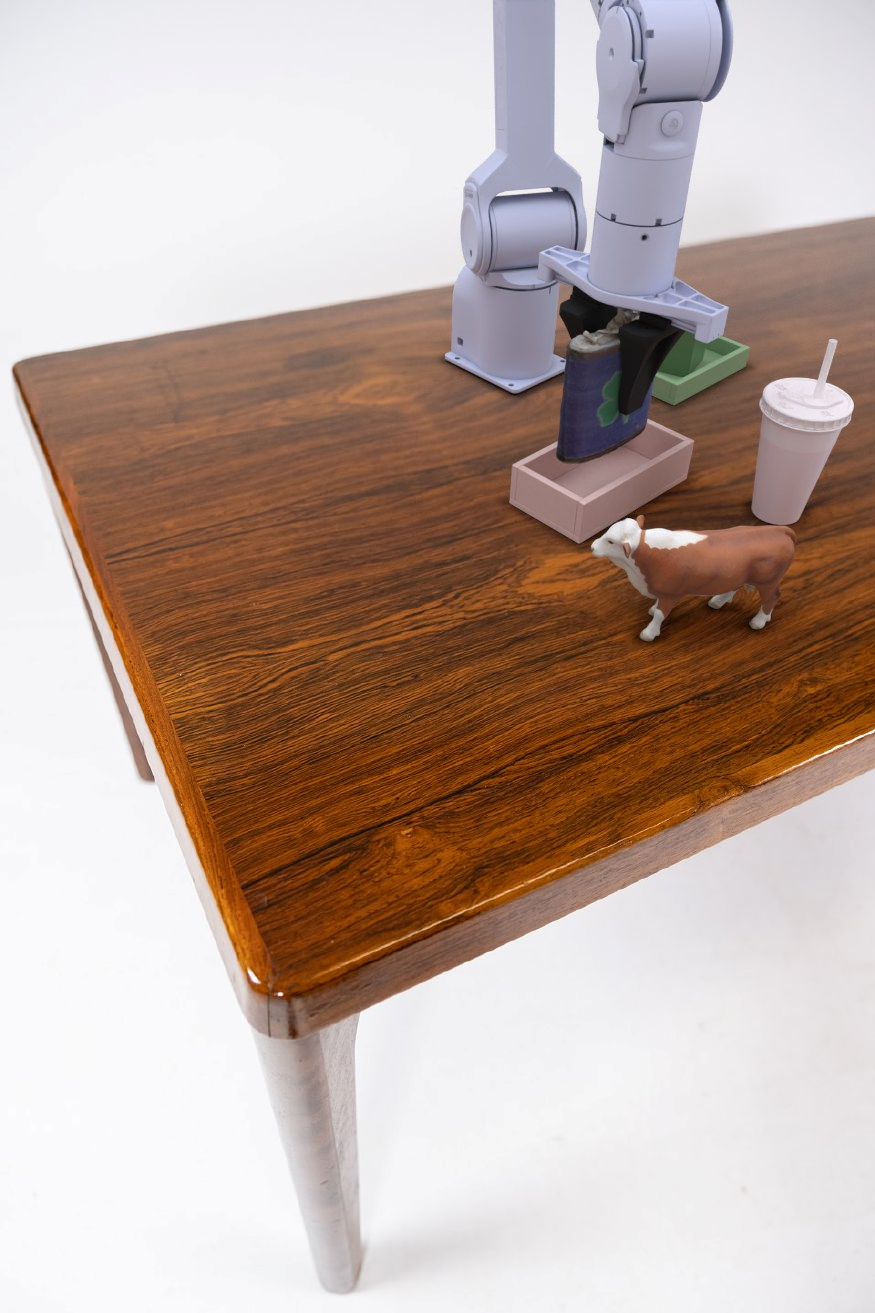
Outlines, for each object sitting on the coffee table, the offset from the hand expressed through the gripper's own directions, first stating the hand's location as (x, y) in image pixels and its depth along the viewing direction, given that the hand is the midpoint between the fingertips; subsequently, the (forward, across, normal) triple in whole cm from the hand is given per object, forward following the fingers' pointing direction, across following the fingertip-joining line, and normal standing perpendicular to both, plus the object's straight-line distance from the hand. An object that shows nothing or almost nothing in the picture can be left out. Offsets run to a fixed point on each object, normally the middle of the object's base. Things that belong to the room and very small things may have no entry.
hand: (612, 401), depth 75 cm
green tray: (+8, +8, -21) cm, 24 cm away
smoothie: (+8, -11, -8) cm, 16 cm away
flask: (+4, 0, 0) cm, 4 cm away
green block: (+7, +8, -21) cm, 24 cm away
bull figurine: (+8, -14, +8) cm, 18 cm away
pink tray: (+8, 0, 0) cm, 8 cm away
